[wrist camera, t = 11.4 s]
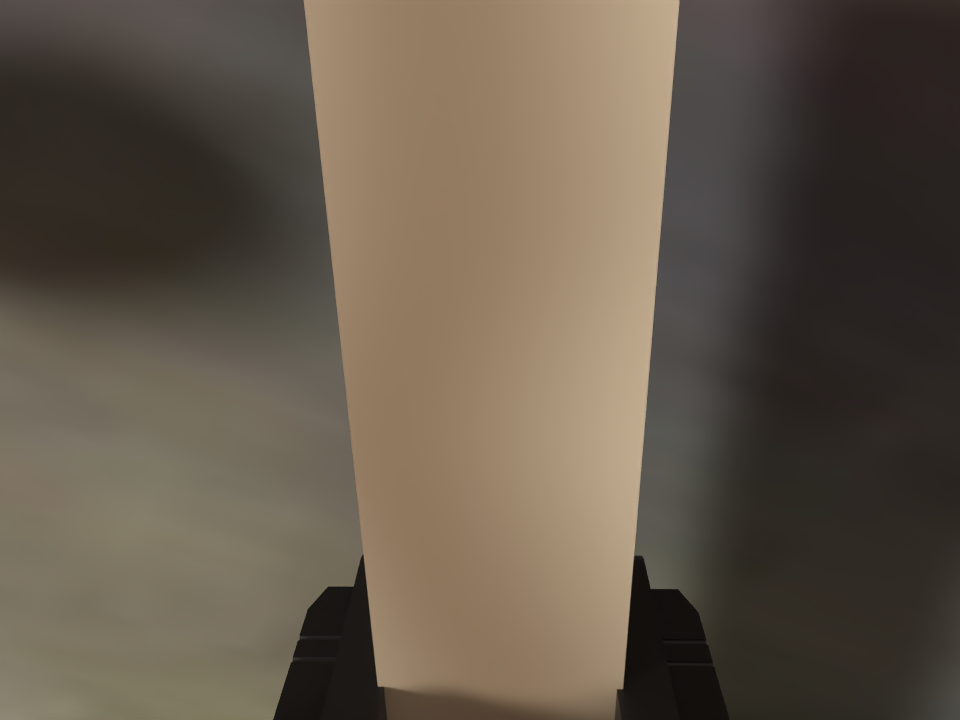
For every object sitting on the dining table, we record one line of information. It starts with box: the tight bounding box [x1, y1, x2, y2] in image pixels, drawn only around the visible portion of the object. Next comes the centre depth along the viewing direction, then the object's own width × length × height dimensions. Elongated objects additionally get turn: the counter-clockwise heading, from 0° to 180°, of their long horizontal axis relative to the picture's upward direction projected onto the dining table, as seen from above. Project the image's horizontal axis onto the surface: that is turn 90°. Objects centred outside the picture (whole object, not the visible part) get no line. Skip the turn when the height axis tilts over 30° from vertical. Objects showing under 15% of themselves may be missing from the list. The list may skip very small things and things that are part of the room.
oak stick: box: [304, 0, 679, 720], centre depth 13 cm, size 3×20×4 cm, turn 1°
